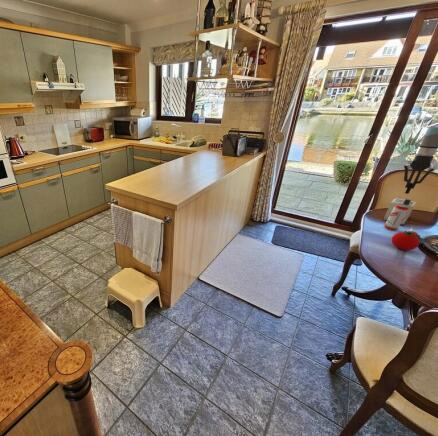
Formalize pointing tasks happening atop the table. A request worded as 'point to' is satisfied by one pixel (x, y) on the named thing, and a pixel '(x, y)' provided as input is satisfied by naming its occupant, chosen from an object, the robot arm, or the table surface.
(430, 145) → the robot arm
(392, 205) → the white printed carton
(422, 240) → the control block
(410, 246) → the tomato
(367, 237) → the table surface
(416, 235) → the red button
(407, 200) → the slider
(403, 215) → the beer can
